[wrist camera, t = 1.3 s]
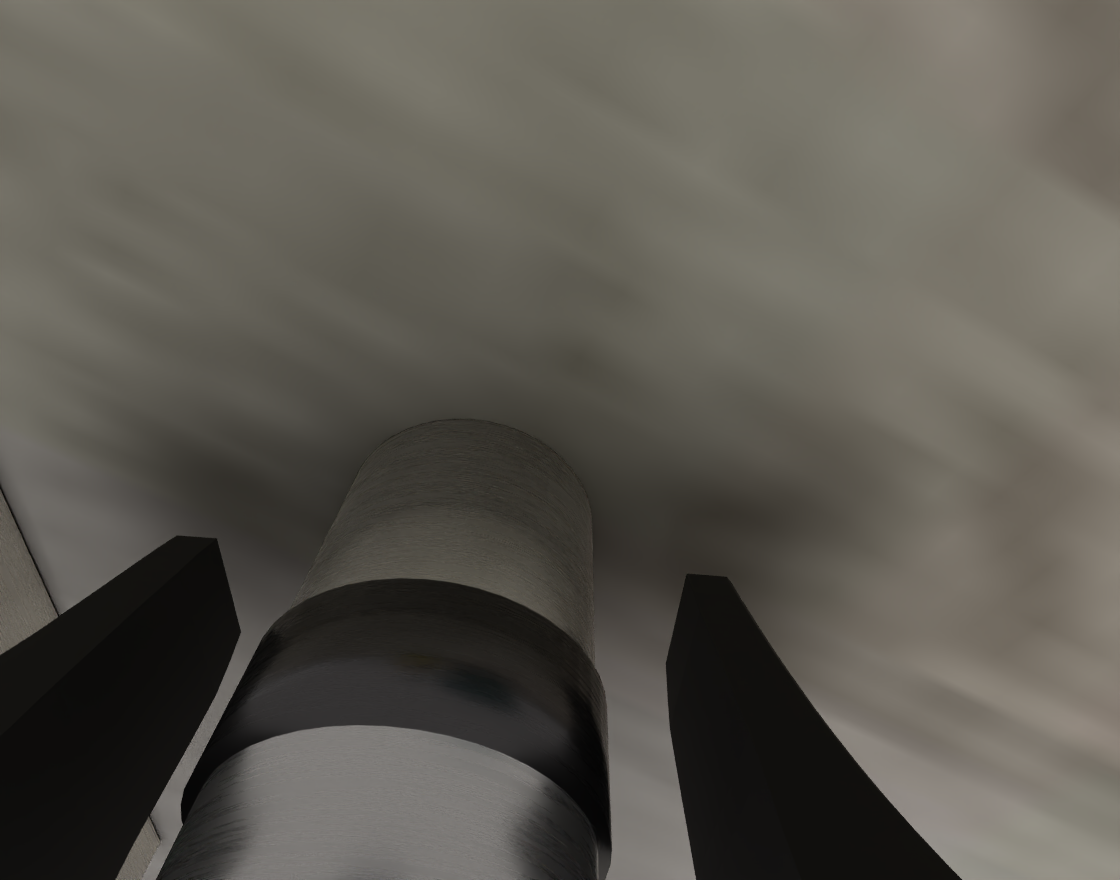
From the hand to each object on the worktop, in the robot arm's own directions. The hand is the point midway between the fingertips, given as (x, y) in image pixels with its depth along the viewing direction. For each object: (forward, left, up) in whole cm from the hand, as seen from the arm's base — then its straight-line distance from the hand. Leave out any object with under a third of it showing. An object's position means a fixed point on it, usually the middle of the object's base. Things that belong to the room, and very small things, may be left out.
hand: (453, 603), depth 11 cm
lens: (0, 0, -2) cm, 2 cm away
